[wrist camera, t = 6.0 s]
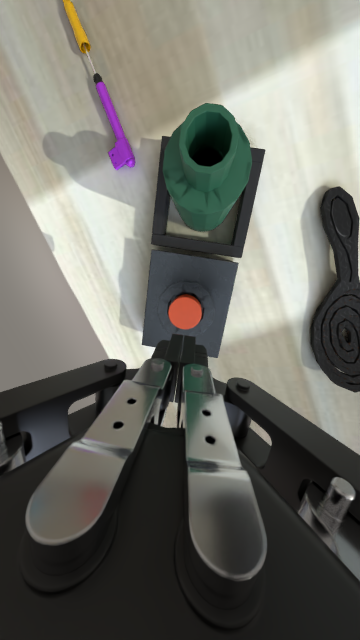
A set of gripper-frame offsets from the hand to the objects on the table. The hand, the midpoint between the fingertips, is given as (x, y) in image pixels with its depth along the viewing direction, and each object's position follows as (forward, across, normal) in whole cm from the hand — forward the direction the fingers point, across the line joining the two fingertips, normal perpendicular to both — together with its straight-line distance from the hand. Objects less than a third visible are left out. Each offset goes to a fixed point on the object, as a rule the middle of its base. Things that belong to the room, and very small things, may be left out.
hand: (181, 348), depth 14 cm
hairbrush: (+17, -19, -3) cm, 25 cm away
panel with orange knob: (+17, 0, +1) cm, 17 cm away
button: (+12, 0, +1) cm, 12 cm away
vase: (+17, 0, -11) cm, 20 cm away
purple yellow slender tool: (+16, +9, -14) cm, 23 cm away
